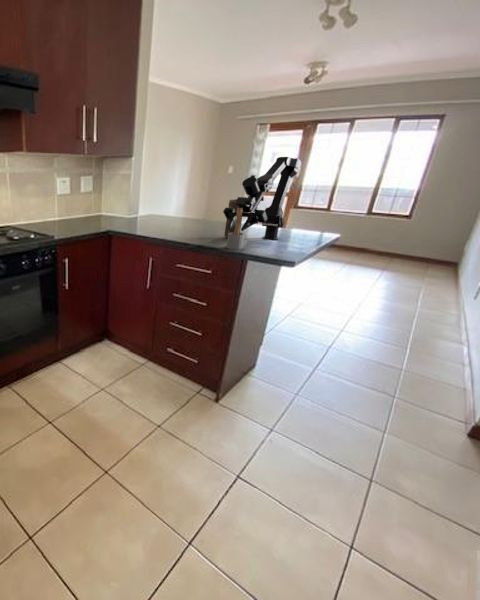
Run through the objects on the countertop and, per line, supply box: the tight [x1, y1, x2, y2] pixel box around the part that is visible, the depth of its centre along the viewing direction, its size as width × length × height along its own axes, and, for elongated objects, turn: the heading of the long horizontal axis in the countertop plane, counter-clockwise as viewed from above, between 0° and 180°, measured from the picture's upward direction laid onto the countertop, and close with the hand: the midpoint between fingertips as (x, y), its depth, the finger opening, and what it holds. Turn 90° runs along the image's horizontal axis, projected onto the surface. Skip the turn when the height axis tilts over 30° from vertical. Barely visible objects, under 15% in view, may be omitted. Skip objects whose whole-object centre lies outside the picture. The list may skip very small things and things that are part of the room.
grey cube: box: [226, 232, 246, 251], centre depth 154 cm, size 7×7×7 cm
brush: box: [234, 208, 242, 235], centre depth 152 cm, size 3×3×18 cm
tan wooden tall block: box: [223, 198, 243, 239], centre depth 172 cm, size 8×7×20 cm
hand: (235, 229), depth 151 cm, fingers open, 6 cm apart
